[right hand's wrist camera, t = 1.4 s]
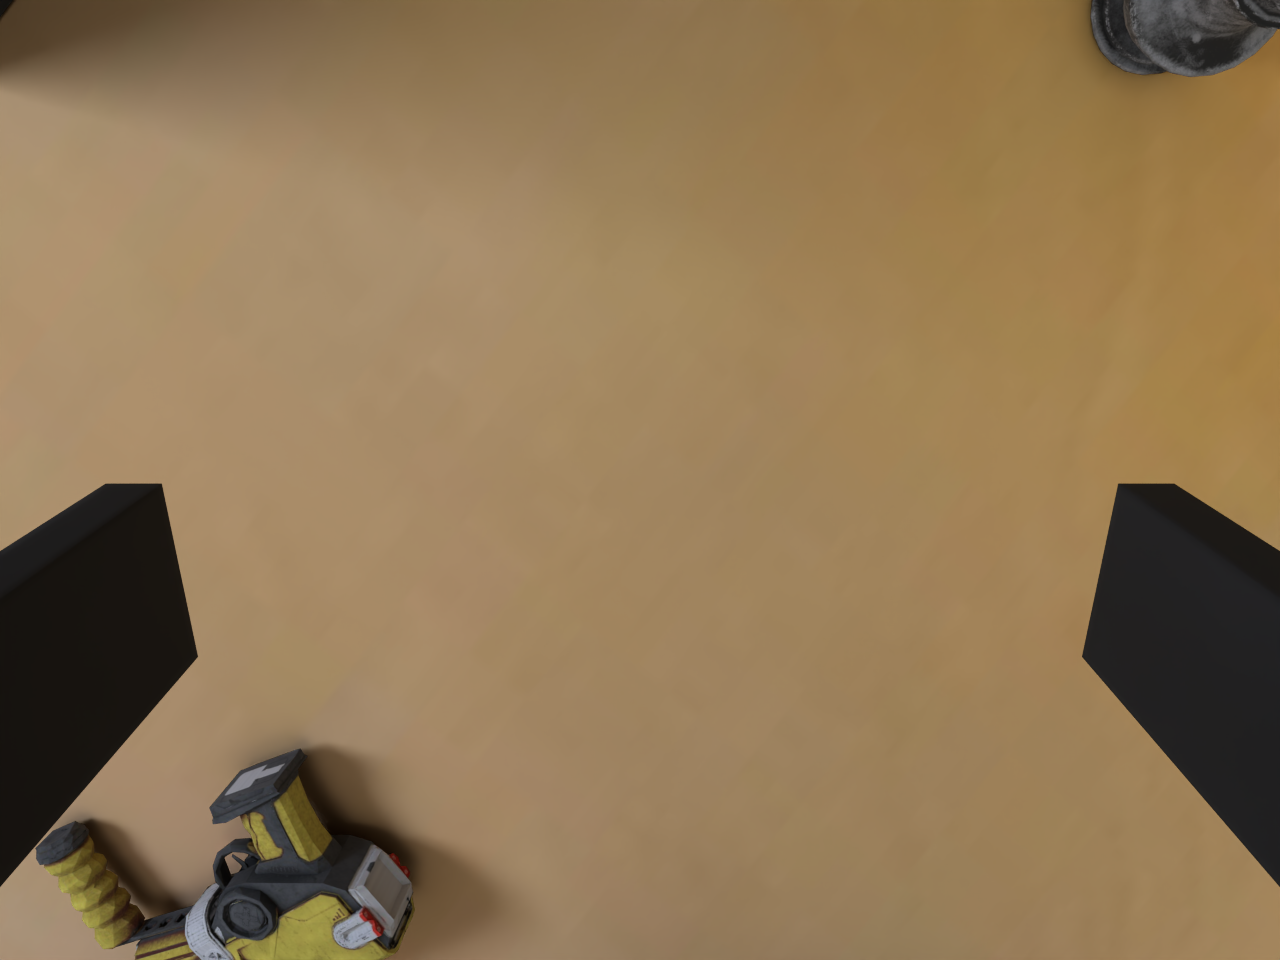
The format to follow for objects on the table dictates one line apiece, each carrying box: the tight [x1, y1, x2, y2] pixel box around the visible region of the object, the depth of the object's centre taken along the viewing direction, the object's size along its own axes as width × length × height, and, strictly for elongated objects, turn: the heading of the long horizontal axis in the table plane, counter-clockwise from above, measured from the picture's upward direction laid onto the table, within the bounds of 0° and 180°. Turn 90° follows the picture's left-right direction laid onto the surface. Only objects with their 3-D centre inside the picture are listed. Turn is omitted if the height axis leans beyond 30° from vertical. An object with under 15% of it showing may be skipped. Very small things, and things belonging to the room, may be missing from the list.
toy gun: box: [35, 748, 415, 960], centre depth 49 cm, size 5×24×15 cm
